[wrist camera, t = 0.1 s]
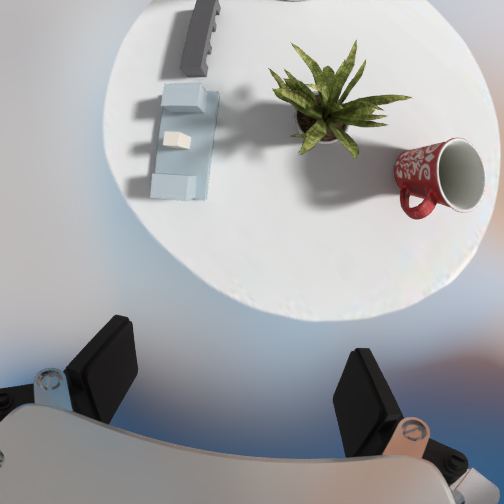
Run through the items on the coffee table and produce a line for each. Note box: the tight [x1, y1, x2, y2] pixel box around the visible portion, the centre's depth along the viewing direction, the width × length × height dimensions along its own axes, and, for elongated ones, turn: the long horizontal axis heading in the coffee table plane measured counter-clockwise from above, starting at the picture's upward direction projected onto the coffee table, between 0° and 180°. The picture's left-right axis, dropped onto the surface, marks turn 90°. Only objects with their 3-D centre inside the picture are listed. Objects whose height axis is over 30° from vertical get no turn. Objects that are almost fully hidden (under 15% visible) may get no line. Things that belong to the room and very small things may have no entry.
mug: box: [394, 138, 486, 219], centre depth 31 cm, size 13×9×14 cm
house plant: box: [268, 40, 412, 160], centre depth 28 cm, size 14×14×16 cm
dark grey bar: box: [180, 0, 221, 76], centre depth 31 cm, size 14×3×4 cm, turn 173°
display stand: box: [150, 83, 220, 201], centre depth 34 cm, size 16×8×7 cm, turn 173°
